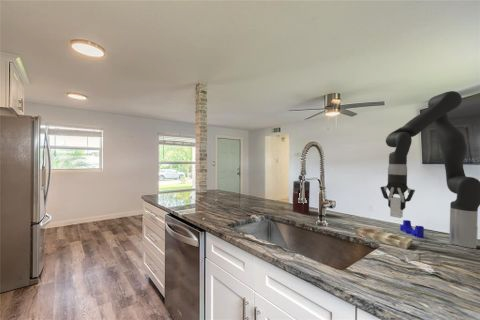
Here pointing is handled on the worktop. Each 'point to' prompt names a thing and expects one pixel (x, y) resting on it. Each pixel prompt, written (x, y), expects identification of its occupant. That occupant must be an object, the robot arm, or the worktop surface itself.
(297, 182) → the dark red bottle
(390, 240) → the birch rail
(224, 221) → the worktop surface
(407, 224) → the cable clip
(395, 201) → the steel peg
